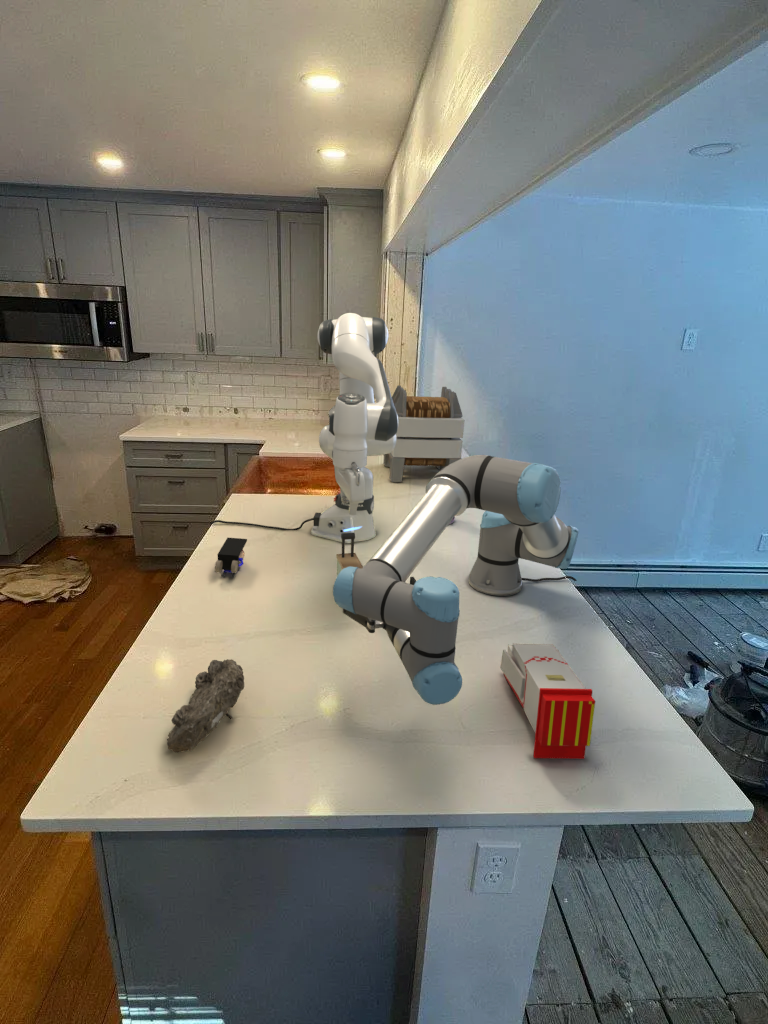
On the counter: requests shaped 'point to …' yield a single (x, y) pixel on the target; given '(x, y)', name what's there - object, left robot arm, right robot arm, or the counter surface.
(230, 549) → the figurine character
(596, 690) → the counter surface
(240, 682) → the fossil
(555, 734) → the toy
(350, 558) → the lid
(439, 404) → the transformer
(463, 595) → the counter surface
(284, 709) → the counter surface
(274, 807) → the counter surface
